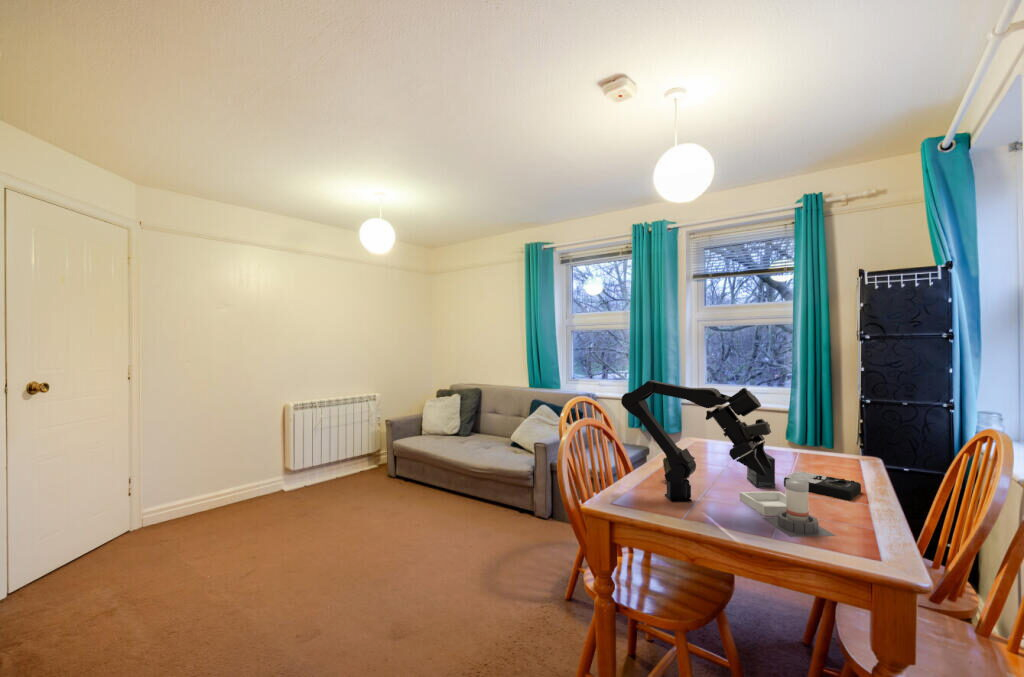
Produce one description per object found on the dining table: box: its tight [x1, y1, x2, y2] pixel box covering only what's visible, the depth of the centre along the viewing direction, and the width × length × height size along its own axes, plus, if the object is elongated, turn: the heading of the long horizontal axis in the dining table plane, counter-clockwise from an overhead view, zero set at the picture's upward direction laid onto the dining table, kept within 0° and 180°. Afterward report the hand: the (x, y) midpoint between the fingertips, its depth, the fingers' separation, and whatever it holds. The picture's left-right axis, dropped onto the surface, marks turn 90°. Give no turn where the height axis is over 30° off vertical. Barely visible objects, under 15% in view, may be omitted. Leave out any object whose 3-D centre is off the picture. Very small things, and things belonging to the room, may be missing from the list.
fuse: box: [785, 479, 810, 522], centre depth 118 cm, size 5×5×12 cm
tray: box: [739, 491, 786, 517], centre depth 132 cm, size 13×13×4 cm
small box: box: [746, 452, 776, 489], centre depth 158 cm, size 11×6×10 cm, turn 168°
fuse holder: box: [761, 511, 837, 538], centre depth 118 cm, size 12×12×4 cm
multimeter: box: [783, 470, 862, 502], centre depth 152 cm, size 13×19×5 cm
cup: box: [662, 457, 671, 475], centre depth 161 cm, size 8×7×8 cm
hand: (767, 471), depth 127 cm, fingers open, 9 cm apart
